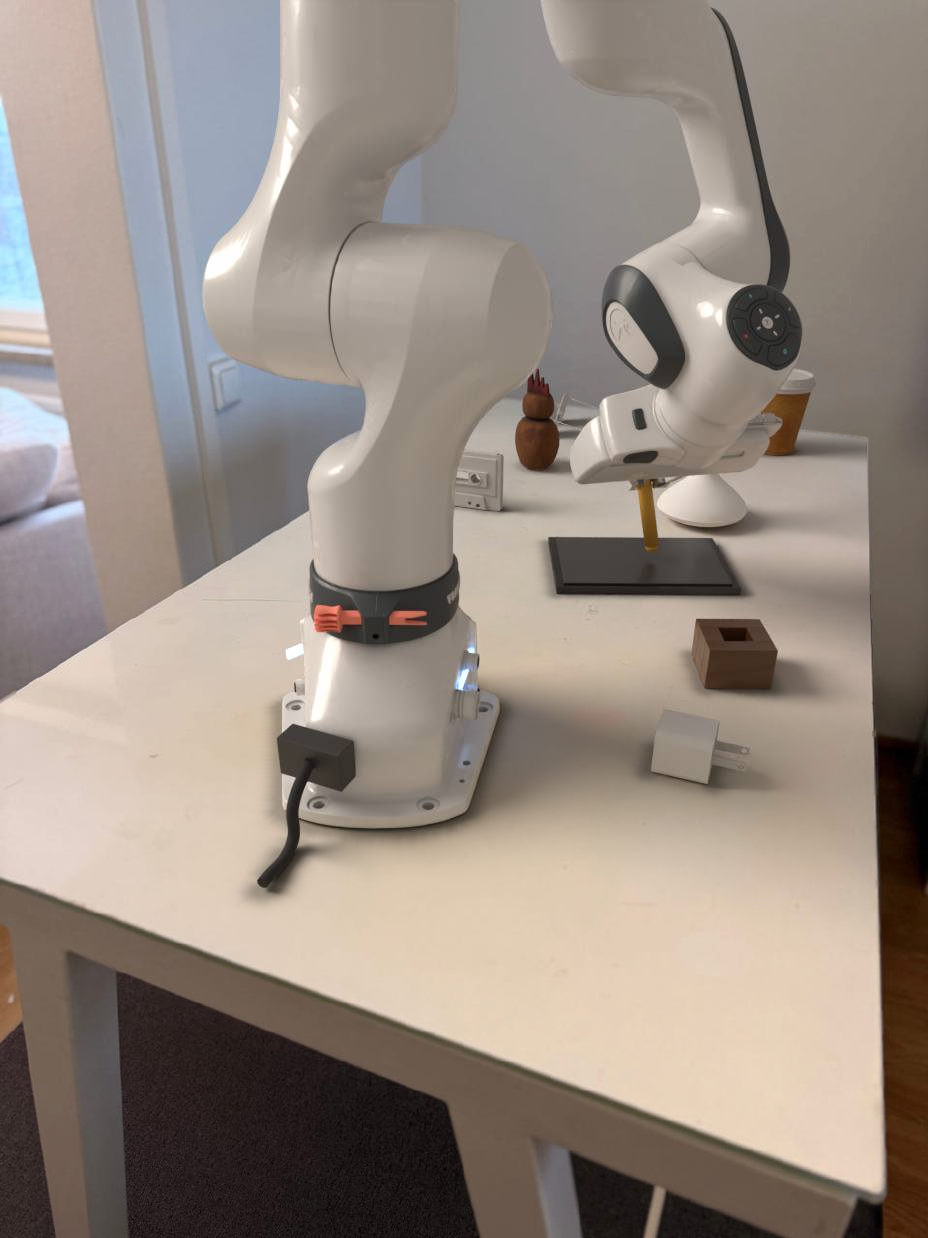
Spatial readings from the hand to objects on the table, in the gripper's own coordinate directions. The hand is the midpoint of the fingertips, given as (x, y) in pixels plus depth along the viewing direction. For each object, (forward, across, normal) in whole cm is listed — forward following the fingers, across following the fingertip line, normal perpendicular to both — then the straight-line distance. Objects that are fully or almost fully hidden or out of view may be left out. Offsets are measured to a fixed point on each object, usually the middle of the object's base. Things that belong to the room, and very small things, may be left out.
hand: (644, 483), depth 101 cm
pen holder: (-10, 0, +24) cm, 26 cm away
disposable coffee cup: (+33, -37, -19) cm, 53 cm away
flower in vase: (+16, -13, -2) cm, 21 cm away
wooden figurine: (+33, +2, -19) cm, 38 cm away
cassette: (+24, +16, -9) cm, 30 cm away
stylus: (+5, -2, +6) cm, 8 cm away
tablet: (+6, 0, +8) cm, 10 cm away
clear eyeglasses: (+45, -10, -30) cm, 55 cm away
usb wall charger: (-20, +10, +34) cm, 40 cm away
